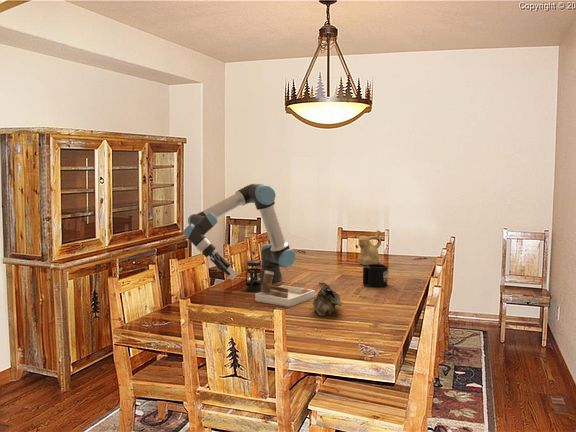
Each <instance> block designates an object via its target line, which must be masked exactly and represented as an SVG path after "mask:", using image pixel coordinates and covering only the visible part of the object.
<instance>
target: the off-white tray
mask: <svg viewBox="0 0 576 432" xmlns="http://www.w3.org/2000/svg"><path fill="white" fill-rule="evenodd" d="M277 287H282V288H287V289H288V297H287V298H283V297H279V296H274V295H269V293H264V292H261V291H258V292H255V293H254V294H255V298H254V299H255V302H258V303H265V304H270V305H276V306H282V307H286V308H291V307H293V306H295V305H298V304H301V303H304V302H306V301H309V300H311V299H315V298H316V290H314V289H310V288H307V289H308V291H309V292H307V293H304V294H302V290H303V289H305V288H303V287H297V286H290V285H284V284H282V285H279V286H277Z"/></svg>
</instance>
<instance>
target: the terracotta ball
mask: <svg viewBox="0 0 576 432" xmlns="http://www.w3.org/2000/svg"><path fill="white" fill-rule="evenodd" d="M308 289H309V288H304V289H303V290H302V294H304V293H307V292H309V291H308Z"/></svg>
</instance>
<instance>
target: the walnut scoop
mask: <svg viewBox="0 0 576 432" xmlns="http://www.w3.org/2000/svg"><path fill="white" fill-rule="evenodd" d="M273 275H274V272H271V271H267V270H265V272H264V277H263V281H261V284H262V286H261V291H260V292H264V293H269V295H274V296H279V297H283V298H287V297H288V289H287V288H282V287H278V286H277V285H272V284H273V282H272V280H273Z"/></svg>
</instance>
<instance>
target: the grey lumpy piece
mask: <svg viewBox="0 0 576 432" xmlns="http://www.w3.org/2000/svg"><path fill="white" fill-rule="evenodd" d="M318 285H319V287H320V290H318V293H317V296H315V297H314V298H313V302H312V305H313V309H315V311H316V313H317V314H318V315H319V316H320V317H321V316H323V317H324V316H325V317H326V316H328V315H330V316H331V315H333V313H334V311H335V308H336V306H342V305H343V303H342V301H341V298H340V296H341V295H339V293H337V292H336V291H333V289H332V288H331V287H330V286H329V285H328V284H327V283H325V282H319V283H318Z"/></svg>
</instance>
